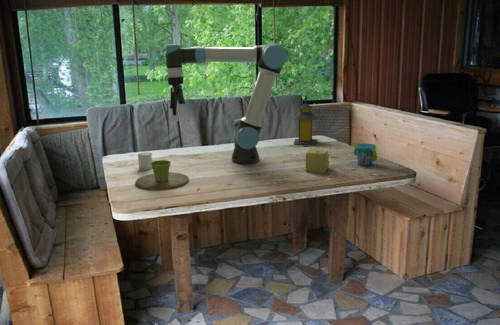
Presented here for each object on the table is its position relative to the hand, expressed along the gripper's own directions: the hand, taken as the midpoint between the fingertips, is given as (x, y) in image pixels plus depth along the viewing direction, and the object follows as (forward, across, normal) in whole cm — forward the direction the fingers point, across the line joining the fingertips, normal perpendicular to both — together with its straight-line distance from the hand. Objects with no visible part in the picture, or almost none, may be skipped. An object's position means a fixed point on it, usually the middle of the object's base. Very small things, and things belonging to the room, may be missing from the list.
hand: (178, 119), depth 238 cm
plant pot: (+25, +23, -5) cm, 34 cm away
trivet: (+27, +22, -5) cm, 35 cm away
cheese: (+29, -1, +69) cm, 75 cm away
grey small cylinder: (+26, -1, -20) cm, 33 cm away
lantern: (+29, -63, +65) cm, 95 cm away
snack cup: (+29, -12, +94) cm, 100 cm away
